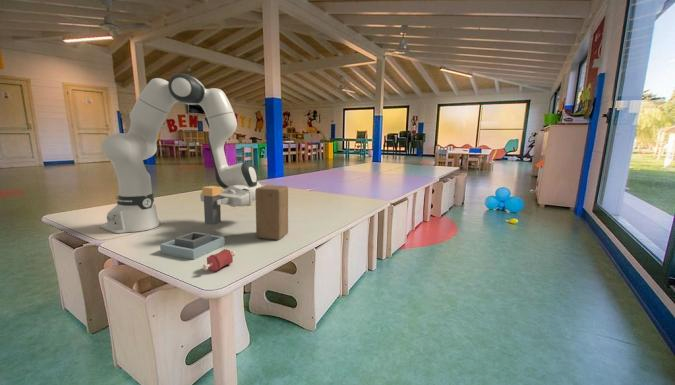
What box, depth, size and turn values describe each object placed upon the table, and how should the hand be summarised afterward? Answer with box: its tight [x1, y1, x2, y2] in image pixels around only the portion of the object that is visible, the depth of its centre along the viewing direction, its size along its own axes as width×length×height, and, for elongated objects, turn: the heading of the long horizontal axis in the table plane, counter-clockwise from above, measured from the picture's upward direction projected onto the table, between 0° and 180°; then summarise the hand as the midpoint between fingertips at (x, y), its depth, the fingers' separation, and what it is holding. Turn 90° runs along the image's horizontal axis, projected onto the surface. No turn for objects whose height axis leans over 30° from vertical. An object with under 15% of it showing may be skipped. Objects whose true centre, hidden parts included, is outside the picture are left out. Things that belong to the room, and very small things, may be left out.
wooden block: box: [255, 184, 289, 241], centre depth 112 cm, size 10×10×20 cm
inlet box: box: [159, 231, 226, 261], centre depth 97 cm, size 14×14×4 cm
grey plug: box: [201, 185, 222, 226], centre depth 107 cm, size 5×5×14 cm
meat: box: [202, 248, 236, 272], centre depth 84 cm, size 12×5×5 cm, turn 158°
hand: (210, 201), depth 106 cm, fingers closed on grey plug, 4 cm apart
